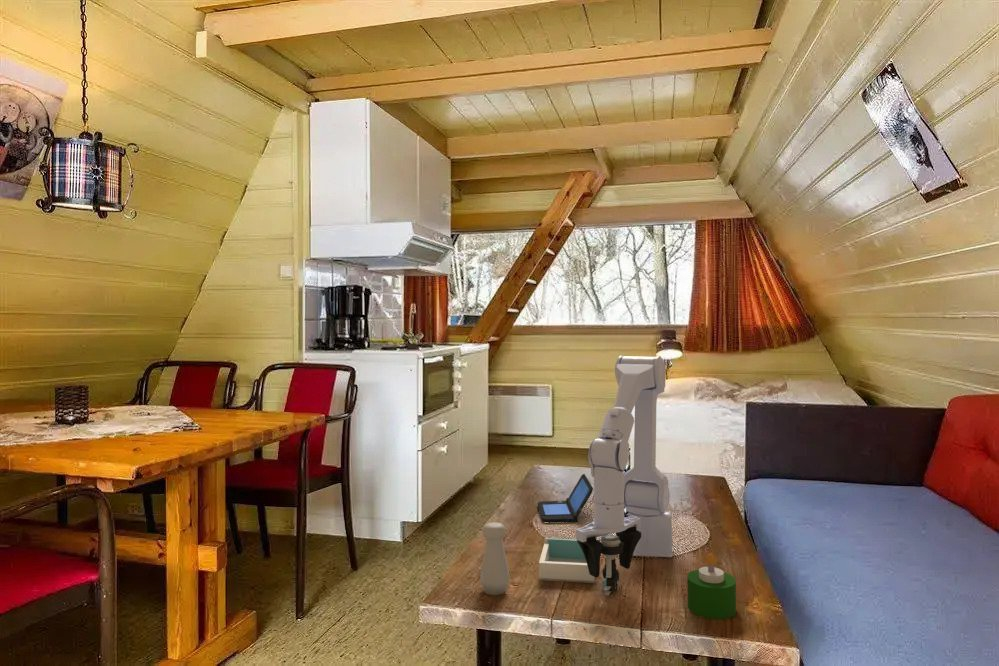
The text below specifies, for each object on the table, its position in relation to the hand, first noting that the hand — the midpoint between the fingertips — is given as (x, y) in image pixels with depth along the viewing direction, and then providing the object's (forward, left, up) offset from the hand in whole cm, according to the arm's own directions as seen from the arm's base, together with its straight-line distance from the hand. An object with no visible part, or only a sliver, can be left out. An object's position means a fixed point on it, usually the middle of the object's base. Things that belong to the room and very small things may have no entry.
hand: (609, 571), depth 121 cm
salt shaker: (+22, +3, -4) cm, 23 cm away
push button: (0, 0, -4) cm, 4 cm away
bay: (+8, -9, -4) cm, 13 cm away
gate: (+9, -15, -4) cm, 17 cm away
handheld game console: (+12, -47, -4) cm, 48 cm away
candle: (-18, +5, -4) cm, 19 cm away
